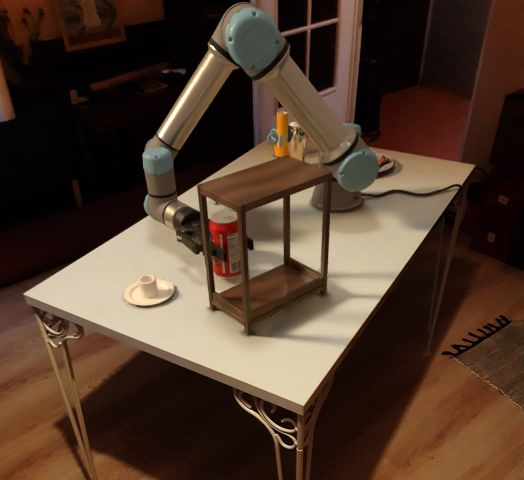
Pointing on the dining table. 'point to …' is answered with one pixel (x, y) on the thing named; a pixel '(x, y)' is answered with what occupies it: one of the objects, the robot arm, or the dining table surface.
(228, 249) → the soda can
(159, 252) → the dining table surface
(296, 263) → the shelf stand
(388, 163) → the food plate
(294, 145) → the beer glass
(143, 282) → the candle holder
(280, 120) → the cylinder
